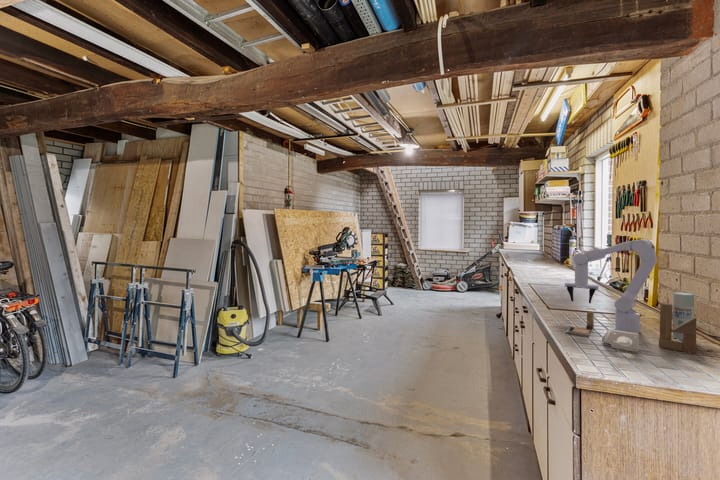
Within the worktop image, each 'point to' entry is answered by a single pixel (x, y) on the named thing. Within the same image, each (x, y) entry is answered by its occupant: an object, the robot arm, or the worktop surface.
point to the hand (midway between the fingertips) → (580, 302)
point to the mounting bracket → (622, 340)
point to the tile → (581, 331)
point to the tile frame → (576, 332)
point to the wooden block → (685, 328)
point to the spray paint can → (682, 310)
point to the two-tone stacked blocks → (590, 320)
